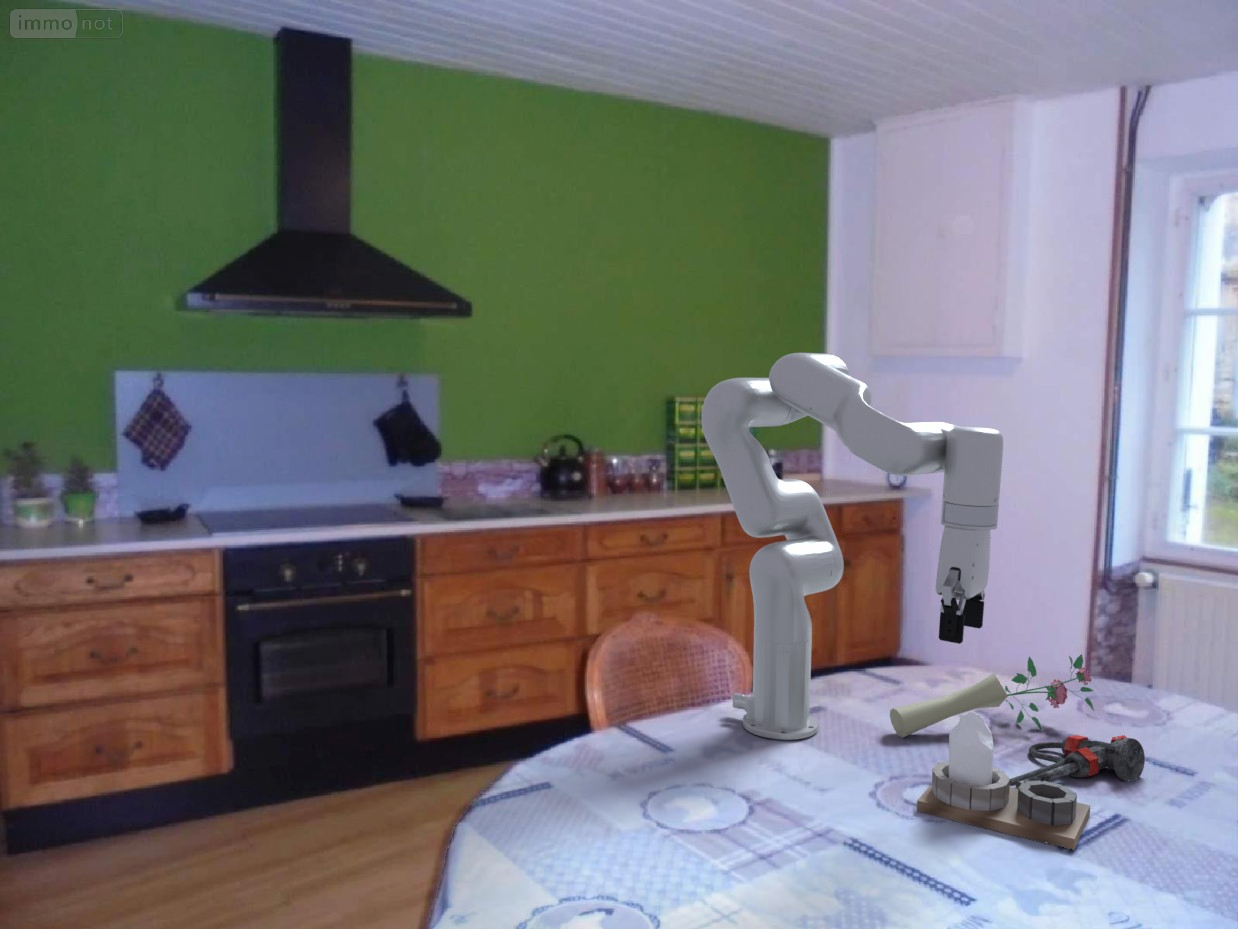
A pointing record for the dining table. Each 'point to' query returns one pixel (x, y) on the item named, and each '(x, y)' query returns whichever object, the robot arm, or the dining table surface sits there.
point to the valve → (1087, 759)
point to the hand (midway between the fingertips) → (960, 633)
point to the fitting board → (1008, 807)
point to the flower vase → (981, 700)
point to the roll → (971, 751)
